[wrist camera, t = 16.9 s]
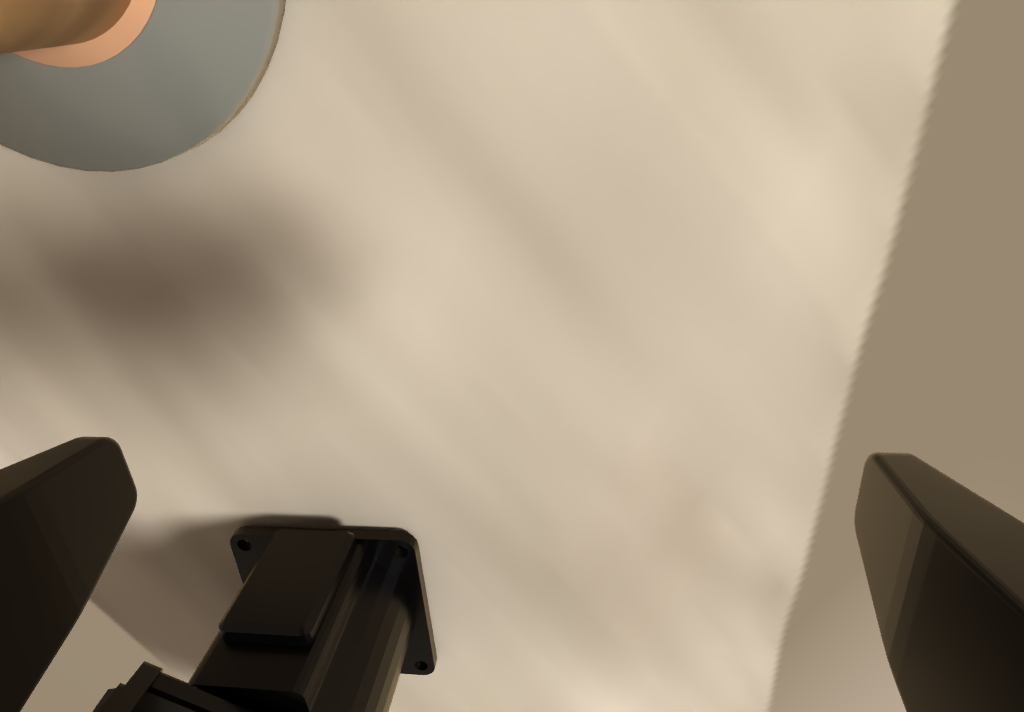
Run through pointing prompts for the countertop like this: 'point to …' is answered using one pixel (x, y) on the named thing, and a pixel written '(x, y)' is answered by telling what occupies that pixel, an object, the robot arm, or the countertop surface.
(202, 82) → the coaster
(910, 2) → the countertop surface
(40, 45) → the oak canister
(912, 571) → the robot arm
